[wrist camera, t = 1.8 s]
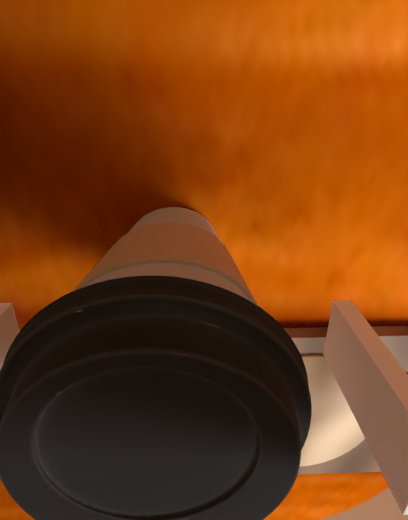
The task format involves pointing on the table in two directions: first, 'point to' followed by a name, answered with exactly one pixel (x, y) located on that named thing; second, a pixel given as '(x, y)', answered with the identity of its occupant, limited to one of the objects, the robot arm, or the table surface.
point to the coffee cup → (154, 389)
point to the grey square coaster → (337, 406)
